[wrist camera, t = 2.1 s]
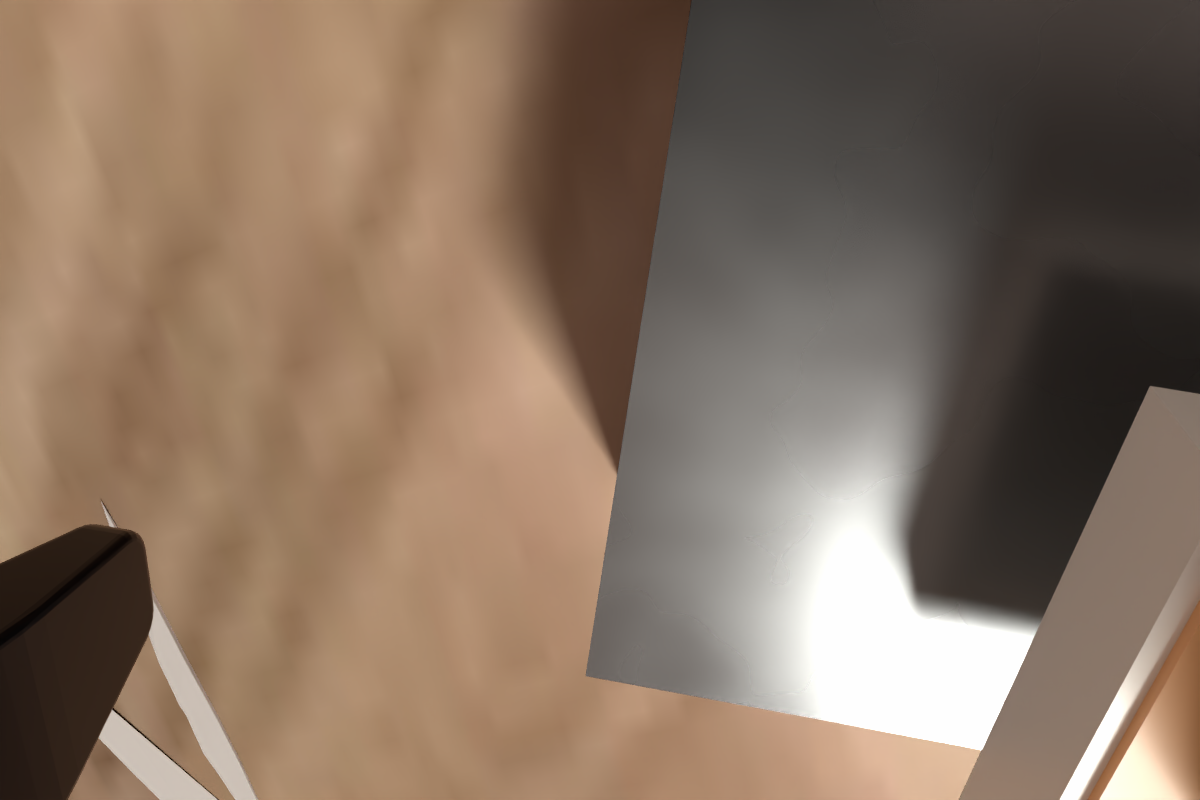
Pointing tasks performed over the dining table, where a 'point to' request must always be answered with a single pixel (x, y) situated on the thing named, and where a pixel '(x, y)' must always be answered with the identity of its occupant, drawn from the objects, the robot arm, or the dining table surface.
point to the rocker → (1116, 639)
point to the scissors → (152, 766)
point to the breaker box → (895, 344)
